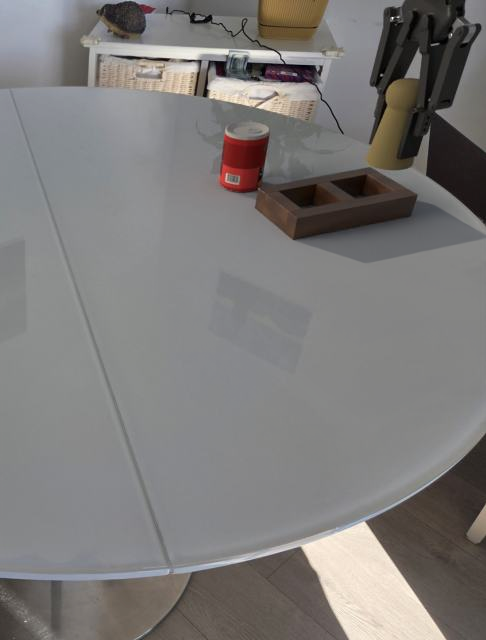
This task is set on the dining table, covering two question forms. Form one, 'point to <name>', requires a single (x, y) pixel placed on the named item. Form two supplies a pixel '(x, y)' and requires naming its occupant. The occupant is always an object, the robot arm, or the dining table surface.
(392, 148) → the tan pawn
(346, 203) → the caddy
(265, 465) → the dining table surface
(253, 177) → the canned food
